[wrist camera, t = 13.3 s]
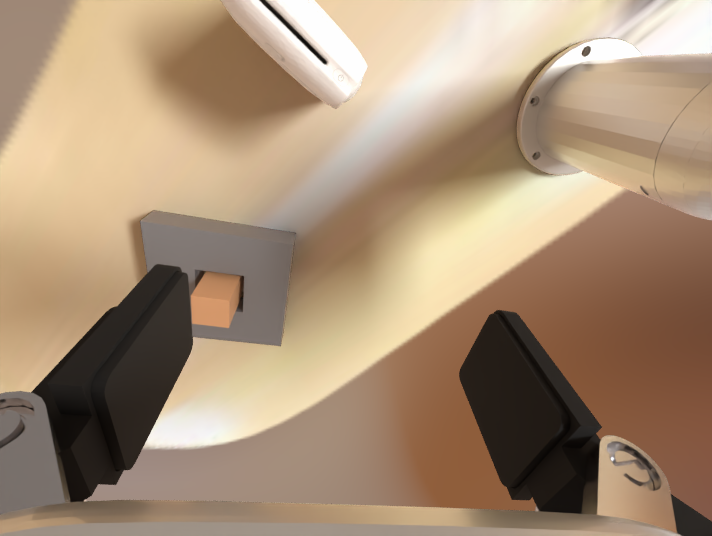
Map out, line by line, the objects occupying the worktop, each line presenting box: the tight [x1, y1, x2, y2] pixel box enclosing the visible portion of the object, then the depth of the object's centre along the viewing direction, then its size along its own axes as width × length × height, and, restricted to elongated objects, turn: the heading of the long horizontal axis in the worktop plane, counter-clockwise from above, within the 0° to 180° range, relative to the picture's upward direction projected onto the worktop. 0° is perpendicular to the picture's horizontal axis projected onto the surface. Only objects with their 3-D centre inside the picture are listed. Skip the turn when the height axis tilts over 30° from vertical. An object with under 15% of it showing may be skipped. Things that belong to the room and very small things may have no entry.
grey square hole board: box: [140, 210, 296, 346], centre depth 41 cm, size 16×16×3 cm
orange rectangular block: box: [191, 271, 244, 328], centre depth 39 cm, size 4×4×7 cm
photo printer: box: [221, 0, 368, 109], centre depth 24 cm, size 10×4×12 cm, turn 49°
